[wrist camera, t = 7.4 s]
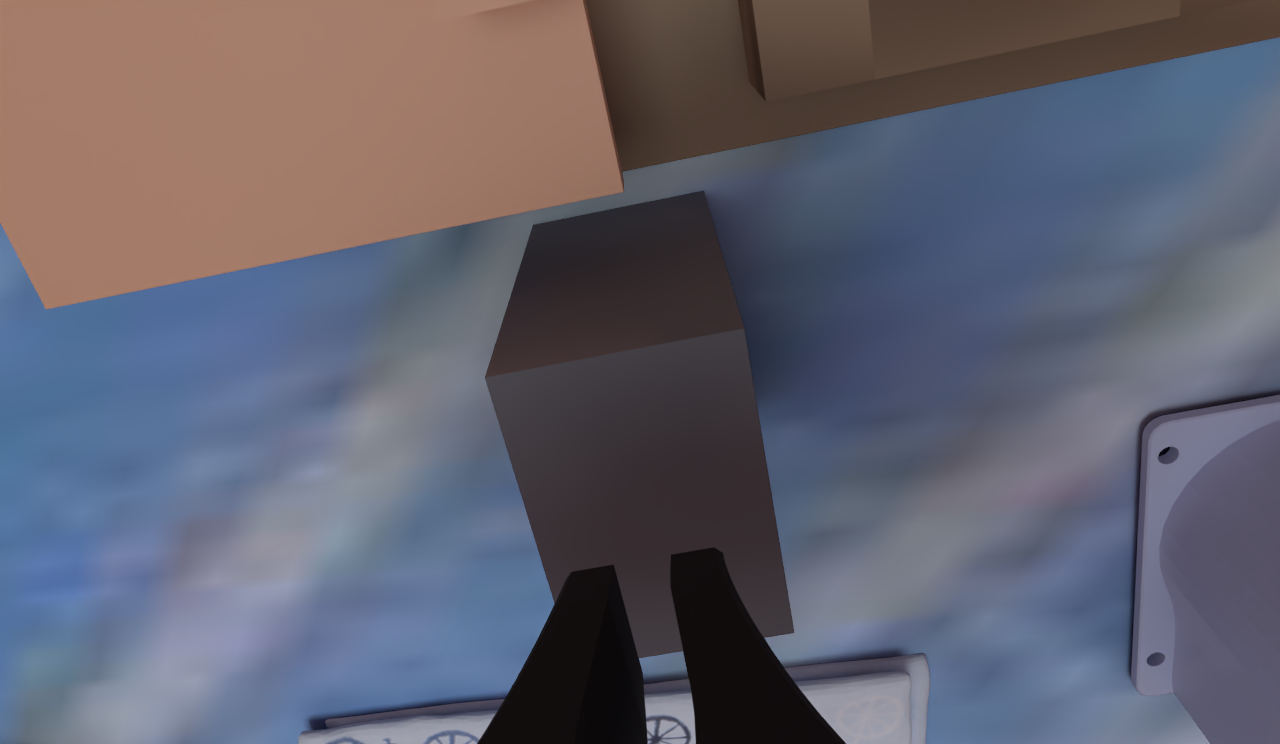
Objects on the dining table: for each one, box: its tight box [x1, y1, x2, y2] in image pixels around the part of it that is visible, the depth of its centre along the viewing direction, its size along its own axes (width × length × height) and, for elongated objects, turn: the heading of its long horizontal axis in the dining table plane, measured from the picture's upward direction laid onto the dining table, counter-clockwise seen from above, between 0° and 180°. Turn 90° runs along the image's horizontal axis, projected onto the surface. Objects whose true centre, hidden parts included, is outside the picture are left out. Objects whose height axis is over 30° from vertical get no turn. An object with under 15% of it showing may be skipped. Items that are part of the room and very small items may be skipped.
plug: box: [485, 191, 794, 658], centre depth 19 cm, size 6×4×8 cm, turn 11°
